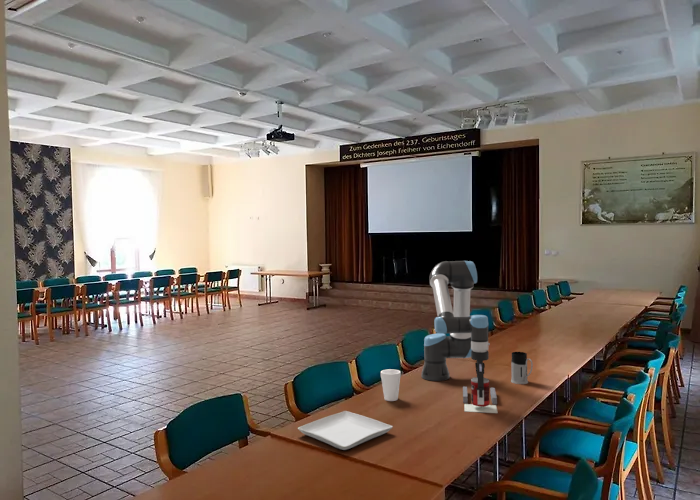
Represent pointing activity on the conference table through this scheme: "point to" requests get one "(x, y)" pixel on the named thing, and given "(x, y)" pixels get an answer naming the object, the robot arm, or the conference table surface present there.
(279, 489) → the conference table surface
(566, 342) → the conference table surface
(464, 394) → the chute
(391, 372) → the foam cup
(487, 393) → the canned food
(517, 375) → the white and black mug
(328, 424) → the square plate
